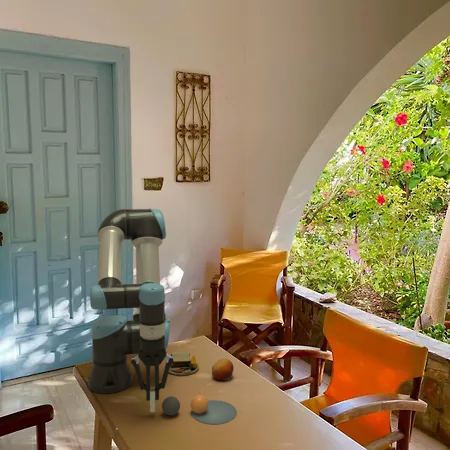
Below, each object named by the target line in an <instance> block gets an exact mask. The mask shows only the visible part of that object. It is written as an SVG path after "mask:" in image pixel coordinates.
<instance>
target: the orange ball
mask: <svg viewBox="0 0 450 450" xmlns="http://www.w3.org/2000/svg"><path fill="white" fill-rule="evenodd" d="M208 401H209V400H208V399H207V397H206V396H204V395H203V394H197V395H195V396H193V397H192V399H191V400H190V405H189V406H190V409H191V412H192V411H193V412H195V413H197V414H201V413H204V412H205V411H206V410H207V408H208Z"/></svg>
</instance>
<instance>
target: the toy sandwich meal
mask: <svg viewBox="0 0 450 450" xmlns="http://www.w3.org/2000/svg"><path fill="white" fill-rule="evenodd" d="M171 355H172V356H173V362H172V364H171V365H170V368H169V372H168V374H169V373H170V374H171V375H173V376H189V375H192V374H194V373H196V372H197V371H199V368H200V365H199V364H198V363H197V360H196V356H195V355H193V356H192V357H190V355H191V352H189V351H184V350H183V351H182V350H180V351H172V352H170V356H171Z"/></svg>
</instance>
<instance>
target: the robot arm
mask: <svg viewBox="0 0 450 450" xmlns="http://www.w3.org/2000/svg"><path fill="white" fill-rule="evenodd" d="M166 237H167V230H166V221H165V217H164V214H163V211H162V210H160V209H157V208H156V209H155V208H135V209H134V208H132V209H131V208H128V209H126V208H122V209H117V210H114V211H112V212H111V213H110V214H108V215H107V216H106V217H105V218H104V219H103V220H102V221H101V223H100V225H99V227H98V230H97V240H98V243H99V257H98V270H97V271H98V274H97V284H96V285H92V286H91V287H90V288H89V289H90V291H89V306H90V308H91V309H92V310H95V311H97V310H98V311H99V310H102V311H103V310H104V311H105V310H106V311H107V310H117V309H119V310H121V309H136V311H135V312H134V313H133V314H132V319H131V320H128V319H127V317H126V316H124V315H120V314H115V315H109V316H105V317H101V318H100V319H98V320H97V321H95V323H93V325H92V328H91V329H92V330H91V334H92V335H91V339H92V340H91V341H92V342H91V343H92V366H91V369H90V373H89V376H88V379H87V387H88V389H89V390H90V391H92V392H94V393H98V394H113V393H118V392H122V391H124V390H127V389H128V388H130V387H131V386H132V384H133V373H132V372H131V371H132V370H131V368H130V365H129V362H128V355H129V356H130V355H136V356H132V357H131V359H130V364H131V365H132V366H133V368H134V371H135V375H136V378H137V383H138V385H139V389H140V390H141V391H143V390H144V391H145V394H146V396H145V400H146V401H147V402H149V407H150V408H149V413H155V412H156V401H159V399H160V390H163V389H165V388H166V384H167V380H168V377H169V368H170V365H171V364H172V362H173V356H172V355H171V354H168V353H167V349H168V346H169V340H170V329H171V319H170V318H168V317H166V312H165V311H166V310H165V309H166V308H165V306H166V304H165V303H166V301H165V300H166V293H165V291H166V290H165V287H164V285H162V284H161V275H160V274H161V273H160V272H161V271H160V248H159V247H160V246H161V245H162V244H163V240H164V239H166ZM124 240H125V241H126V240H129V241H130V240H131V243H130V244H131V246H133V247H134V248H135V273H136V274H135V275H136V276H135V277H136V280H135V281H136V283H128V284H127V283H125V284H123V283H122V282H123V281H122V278H123V277H122V276H123V275H122V272H123V270H122V264H123V263H122V262H123V261H122V256H123V255H122V253H123V251H122V246H123V245H122V244H123V242H124ZM140 361H141V362H142V364H143V365H144V366H145V380H144V377H143V372H142V371H141V365H140ZM163 361H165V364H164V369H163V373H162V377H161V382H160V380H159V379H160V369H159V368H160V365H161V364H162V362H163ZM151 367H154V387H151Z"/></svg>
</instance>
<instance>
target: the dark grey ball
mask: <svg viewBox="0 0 450 450" xmlns="http://www.w3.org/2000/svg"><path fill="white" fill-rule="evenodd" d="M180 408H181V403H180V400H179V399H178V398H177V397H175V396H172V395H171V396H167V397H165V399H164V400H163V402H162V404H161V409H162V411H163V413H164V414H166V415H168V416H175V415H177V414H178V413H179V411H180Z"/></svg>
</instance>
